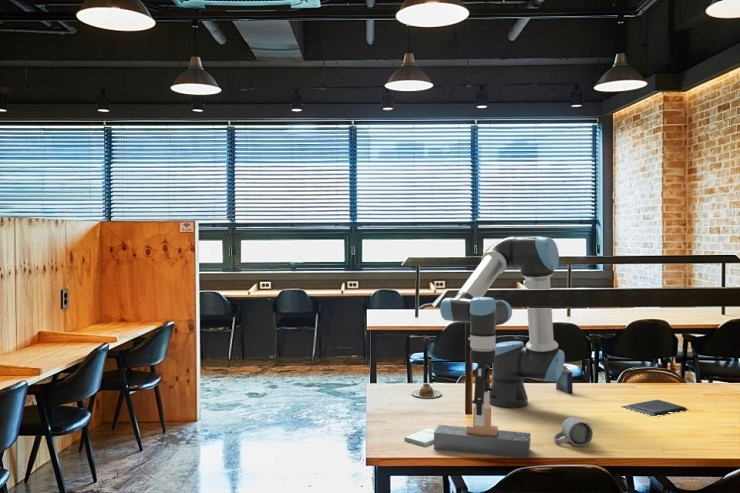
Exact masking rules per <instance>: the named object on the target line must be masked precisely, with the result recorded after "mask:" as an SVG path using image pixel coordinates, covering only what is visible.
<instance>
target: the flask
mask: <svg viewBox="0 0 740 493" xmlns="http://www.w3.org/2000/svg"><path fill="white" fill-rule="evenodd" d="M555 390H557V391H560V392H563V393H566V394H568V395H573V394H574V393H573V371H571V369H568V364H566V365H564V366H563V370H562V373H561V376H560V377H559V379H558V380H557V381H555Z"/></svg>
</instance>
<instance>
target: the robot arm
mask: <svg viewBox="0 0 740 493" xmlns="http://www.w3.org/2000/svg"><path fill="white" fill-rule="evenodd" d="M480 260H481V262H480V263H479V264H478V265H477V267H476V268H475V269H474V271H473V272H472V273H471V275H470V276H469V278H468V279H467V280H466V281H465V283H464V284H463V285H462V287H461V288H460V289H459V291H458V292H457V293H456V295H455V296H454V297H446V298H445V297H444V299H443V300H442V301H441V302H440V306H439V307H440V308H439V310H440V316H441V318H442V319H443V320H444V321H448V322H454V323H455V322H456V323H468V324H469V325H470V328H469V331H470V332H469V337H468V338H467V340H468V341H470V342H469V347H470V348H471V349H470V350H469V361H470V362H471V363H473V364H477V366H476V368H475V370H474V374H475V377H474V378H475V379H474V391H473V392H474V393H473V394H474V395H473V396H474V397H473V400H472V401H471V403H472V404H473V405H475V425H476V426H484V405H486V406H490V405H493V406H496V407H501V408H521V407H525V406H527V405H528V402H529V401H528V400H529V399H528V397H529V396H528V393H527V392H526V387H525V384H524V379H532V380H537V381H544V382H556V381H557V380H558V379H559V377H560V376H561V373H562V370H563V366H565V360H566V359H565V352H564V350H561V349H559V343H558V342H557V341H556V340H554V324H553V312H552V311H553V310H552V308H529V307H527V308H526V309H527V321H528V337H529V340H528V341H527V342H526V344H524V341H519V340H517V341H516V340H512V341H503V342H497V343H496V338H497V336H496V326H499V325H500V326H501V325H504V324H505V323H507V322H508V321H510V319H512V318H511V317H512V315H513V309H512V306H511V305H510V304H509V302H508V301H505V300H502V299H495V298H493V297H488V296H485V295H486V293H487V292H488V291H489V289H490V287H491V286H492V284H494V282H495V280H496V279H497V277H498V276H499V275H500V274H503V273H504V272H505V271H506V270H508V269H519V270H520V276H521V277H522V278H524V279H525V289H526V288H529V289H551V278H552V276H554V274H555V271H556V270H557V269H558V267H559V263H560V252H559V249H558V245H557V243H556V242H555V240H554V239H553V238H551V237H548V236H547V237H546V236H508V237H505V238H502V239H500V240H498V241H497V242H495V243H493V244H492V245H490V246H489V247H488V248H487V249H486V250H485V252H484V253H483V254H482V256H481V259H480ZM490 365H491V367H492V368H490ZM490 369H491V370H490ZM490 371H491V372H492V373H491V374H492V375H491V376H492V380H490V378H491V377H490Z"/></svg>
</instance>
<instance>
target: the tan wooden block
mask: <svg viewBox="0 0 740 493" xmlns="http://www.w3.org/2000/svg"><path fill="white" fill-rule="evenodd" d="M472 414H473V415H472V418H473V419H472V421H473V422H472V423H467V425H466V427H467V433H468V434H483V435H489V436H497V433H498V430H499V427H498V426H497V425H492V406H491V405H489V406H486V405H484V426H476V425H475V404H473V409H472Z"/></svg>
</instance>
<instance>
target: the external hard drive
mask: <svg viewBox="0 0 740 493" xmlns="http://www.w3.org/2000/svg"><path fill="white" fill-rule="evenodd" d="M435 430H436V429H434V428H425V429H423V430H420V431H418V432H415V433H412V434H410V435H408V436H404V438H403V439H404V441H405V442H408V443H410V444H416V445H418V446H422V447H427V446H429V445H432V444H434V432H435Z"/></svg>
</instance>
